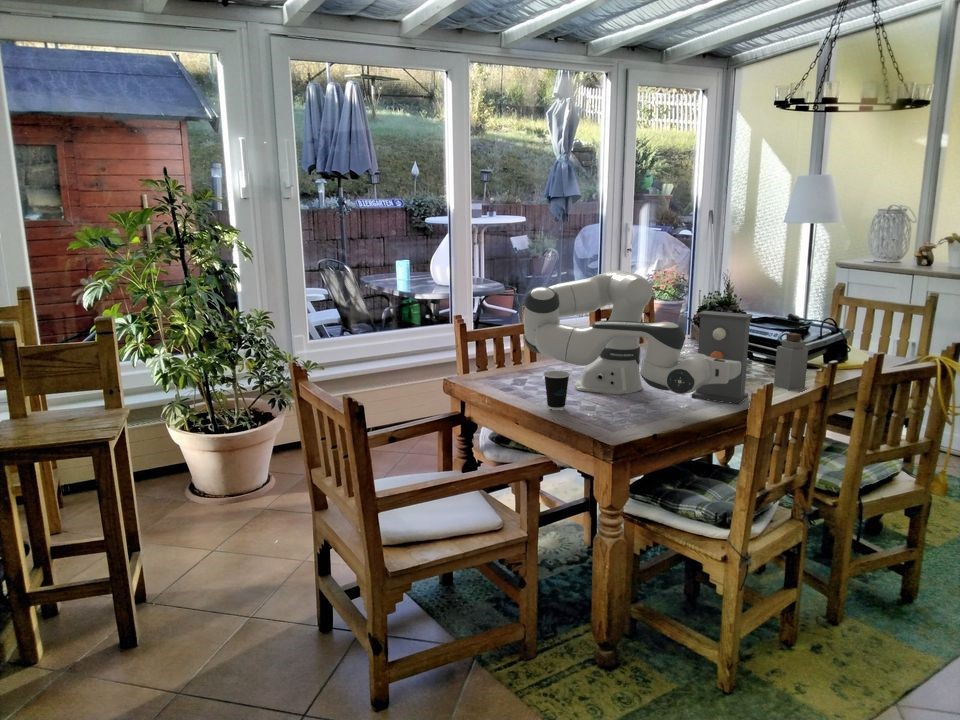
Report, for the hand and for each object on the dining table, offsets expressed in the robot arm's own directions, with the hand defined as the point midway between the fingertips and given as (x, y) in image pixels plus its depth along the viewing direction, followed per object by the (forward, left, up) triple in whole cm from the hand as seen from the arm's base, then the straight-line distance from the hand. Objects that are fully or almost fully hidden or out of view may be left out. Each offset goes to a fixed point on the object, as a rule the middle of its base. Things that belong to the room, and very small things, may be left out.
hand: (711, 360), depth 222 cm
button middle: (+2, +5, -2) cm, 6 cm away
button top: (+2, +7, +5) cm, 9 cm away
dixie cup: (-46, -12, -15) cm, 49 cm away
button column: (+4, +11, -14) cm, 18 cm away
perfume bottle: (+27, +28, -15) cm, 42 cm away
